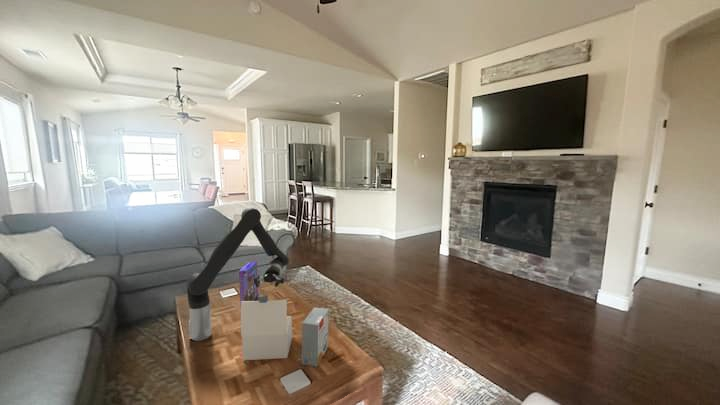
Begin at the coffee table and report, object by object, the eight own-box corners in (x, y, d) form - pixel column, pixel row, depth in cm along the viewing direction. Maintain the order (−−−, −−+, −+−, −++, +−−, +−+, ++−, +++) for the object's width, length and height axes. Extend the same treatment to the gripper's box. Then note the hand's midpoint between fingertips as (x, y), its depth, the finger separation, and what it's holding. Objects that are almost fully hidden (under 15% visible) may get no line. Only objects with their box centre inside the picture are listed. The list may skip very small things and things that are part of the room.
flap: (241, 336, 130) (239, 340, 126) (241, 294, 129) (238, 297, 126) (286, 333, 132) (285, 337, 128) (286, 292, 131) (285, 295, 127)
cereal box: (248, 307, 180) (246, 270, 177) (240, 307, 180) (238, 270, 177) (258, 295, 197) (257, 261, 194) (251, 294, 197) (249, 261, 194)
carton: (242, 360, 132) (241, 335, 130) (252, 339, 147) (251, 317, 146) (287, 357, 134) (286, 333, 132) (292, 337, 149) (291, 315, 148)
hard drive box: (317, 367, 128) (317, 325, 125) (301, 365, 129) (301, 323, 126) (328, 346, 143) (328, 308, 140) (313, 344, 144) (313, 306, 142)
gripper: (259, 266, 150) (250, 278, 134) (287, 265, 152) (281, 277, 135) (259, 279, 151) (251, 293, 135) (287, 279, 152) (282, 292, 136)
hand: (266, 285), depth 135 cm, fingers open, 8 cm apart
